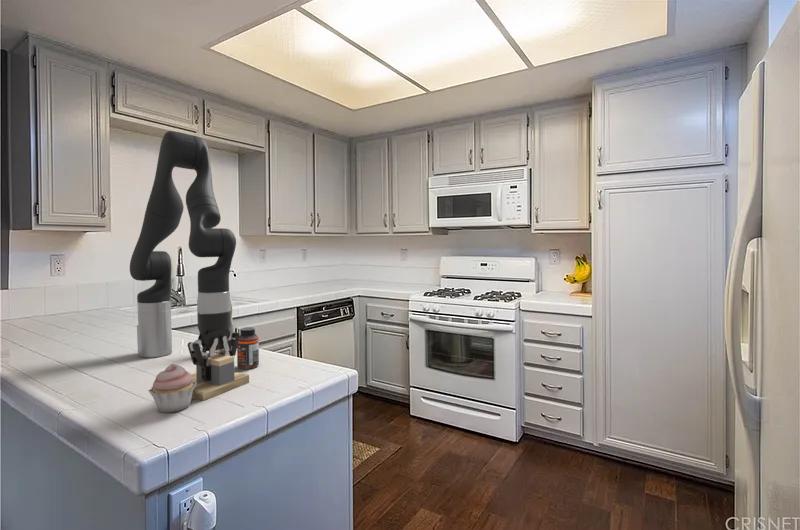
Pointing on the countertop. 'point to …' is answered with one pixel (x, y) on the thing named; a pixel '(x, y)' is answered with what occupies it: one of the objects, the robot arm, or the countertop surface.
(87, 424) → the countertop surface
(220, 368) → the block
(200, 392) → the slatted wooden trivet
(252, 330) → the supplement bottle
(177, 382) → the cupcake
